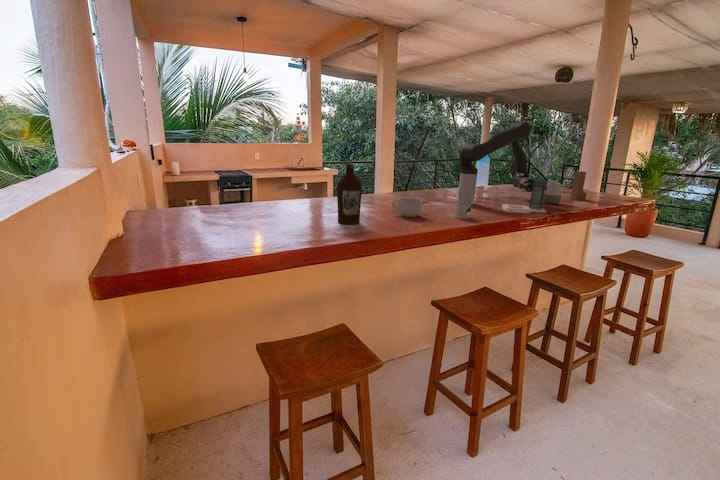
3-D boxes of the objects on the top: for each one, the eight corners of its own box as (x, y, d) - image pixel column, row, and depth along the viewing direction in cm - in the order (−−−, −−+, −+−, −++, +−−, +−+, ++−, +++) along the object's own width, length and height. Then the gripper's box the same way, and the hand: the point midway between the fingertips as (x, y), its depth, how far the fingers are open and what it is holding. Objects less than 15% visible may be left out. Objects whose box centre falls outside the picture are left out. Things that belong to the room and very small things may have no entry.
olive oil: (334, 219, 164) (335, 162, 156) (357, 219, 166) (359, 163, 159) (338, 225, 154) (339, 165, 147) (363, 225, 156) (365, 165, 149)
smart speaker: (561, 205, 215) (565, 181, 211) (543, 204, 218) (547, 180, 214) (558, 202, 224) (562, 179, 220) (541, 201, 227) (545, 178, 223)
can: (542, 208, 199) (547, 180, 195) (540, 210, 195) (545, 181, 190) (530, 206, 203) (534, 179, 198) (528, 208, 198) (533, 180, 193)
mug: (469, 219, 172) (470, 205, 170) (454, 218, 174) (456, 204, 172) (470, 215, 181) (472, 202, 179) (456, 214, 183) (458, 201, 181)
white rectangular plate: (530, 211, 195) (530, 209, 194) (525, 208, 204) (525, 206, 204) (546, 212, 193) (546, 210, 193) (540, 208, 203) (540, 207, 202)
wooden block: (579, 198, 242) (584, 171, 237) (585, 199, 238) (591, 171, 233) (570, 199, 238) (575, 171, 233) (576, 200, 234) (582, 172, 229)
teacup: (422, 214, 180) (423, 198, 177) (418, 219, 170) (419, 202, 168) (395, 211, 184) (395, 196, 182) (389, 216, 174) (390, 199, 172)
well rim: (506, 211, 192) (507, 208, 191) (502, 207, 203) (502, 204, 202) (530, 213, 190) (530, 209, 190) (524, 209, 201) (525, 205, 201)
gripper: (516, 177, 216) (523, 181, 201) (542, 178, 214) (551, 182, 199) (514, 190, 218) (521, 194, 203) (539, 191, 216) (548, 196, 201)
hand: (535, 188), depth 201 cm, fingers open, 8 cm apart
